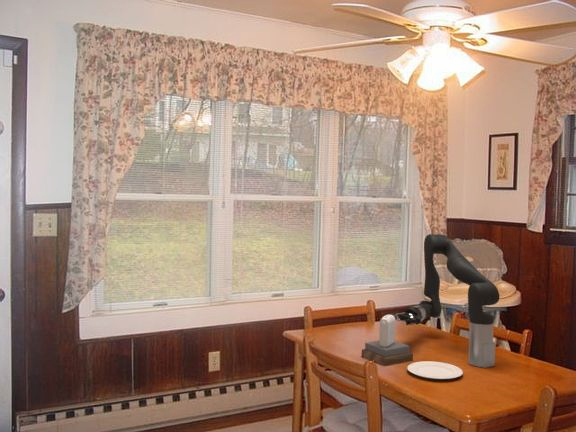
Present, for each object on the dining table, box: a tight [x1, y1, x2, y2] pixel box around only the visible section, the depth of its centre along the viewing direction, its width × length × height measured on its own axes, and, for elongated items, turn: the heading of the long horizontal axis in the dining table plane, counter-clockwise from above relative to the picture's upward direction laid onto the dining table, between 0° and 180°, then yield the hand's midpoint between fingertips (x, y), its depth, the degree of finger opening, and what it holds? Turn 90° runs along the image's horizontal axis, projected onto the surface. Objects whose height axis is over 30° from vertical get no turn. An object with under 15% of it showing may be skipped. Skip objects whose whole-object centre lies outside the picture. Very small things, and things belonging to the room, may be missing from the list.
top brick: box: [364, 340, 411, 358], centre depth 233 cm, size 13×13×3 cm
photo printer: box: [378, 314, 396, 347], centre depth 233 cm, size 10×4×12 cm, turn 149°
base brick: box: [361, 348, 414, 367], centre depth 233 cm, size 15×15×3 cm
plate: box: [406, 360, 464, 381], centre depth 214 cm, size 21×21×2 cm
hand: (397, 321), depth 240 cm, fingers open, 8 cm apart
